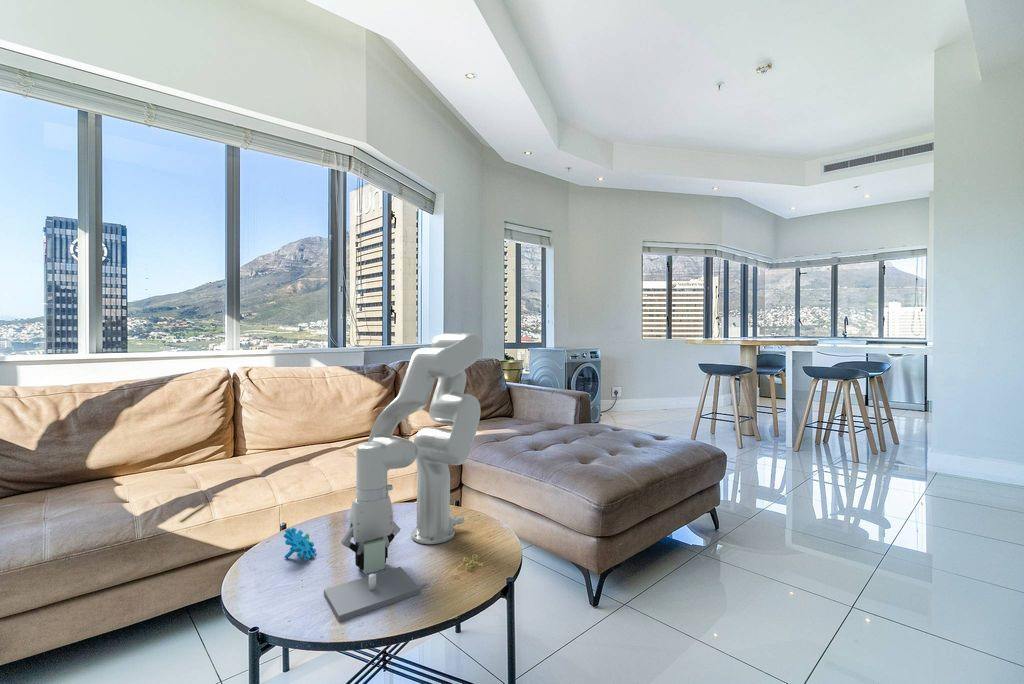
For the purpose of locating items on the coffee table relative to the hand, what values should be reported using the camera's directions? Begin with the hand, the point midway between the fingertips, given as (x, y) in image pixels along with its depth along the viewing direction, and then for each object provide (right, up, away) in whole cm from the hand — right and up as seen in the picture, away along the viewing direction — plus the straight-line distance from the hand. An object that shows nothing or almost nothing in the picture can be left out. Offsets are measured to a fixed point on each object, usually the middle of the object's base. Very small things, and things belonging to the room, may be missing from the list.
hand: (371, 563), depth 116 cm
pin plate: (+4, -1, -12) cm, 13 cm away
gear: (-20, -1, +5) cm, 21 cm away
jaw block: (0, -1, 0) cm, 1 cm away
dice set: (+25, -2, +2) cm, 25 cm away
